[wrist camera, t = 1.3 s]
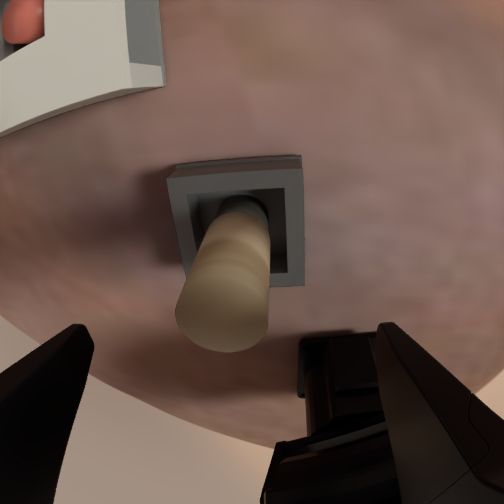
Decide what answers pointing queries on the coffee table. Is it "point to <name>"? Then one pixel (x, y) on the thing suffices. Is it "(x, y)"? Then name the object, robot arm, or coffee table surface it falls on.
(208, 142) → the coffee table surface
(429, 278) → the coffee table surface
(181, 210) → the holder
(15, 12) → the breaker button
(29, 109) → the breaker box
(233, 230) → the beige rounded rod
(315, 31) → the coffee table surface
